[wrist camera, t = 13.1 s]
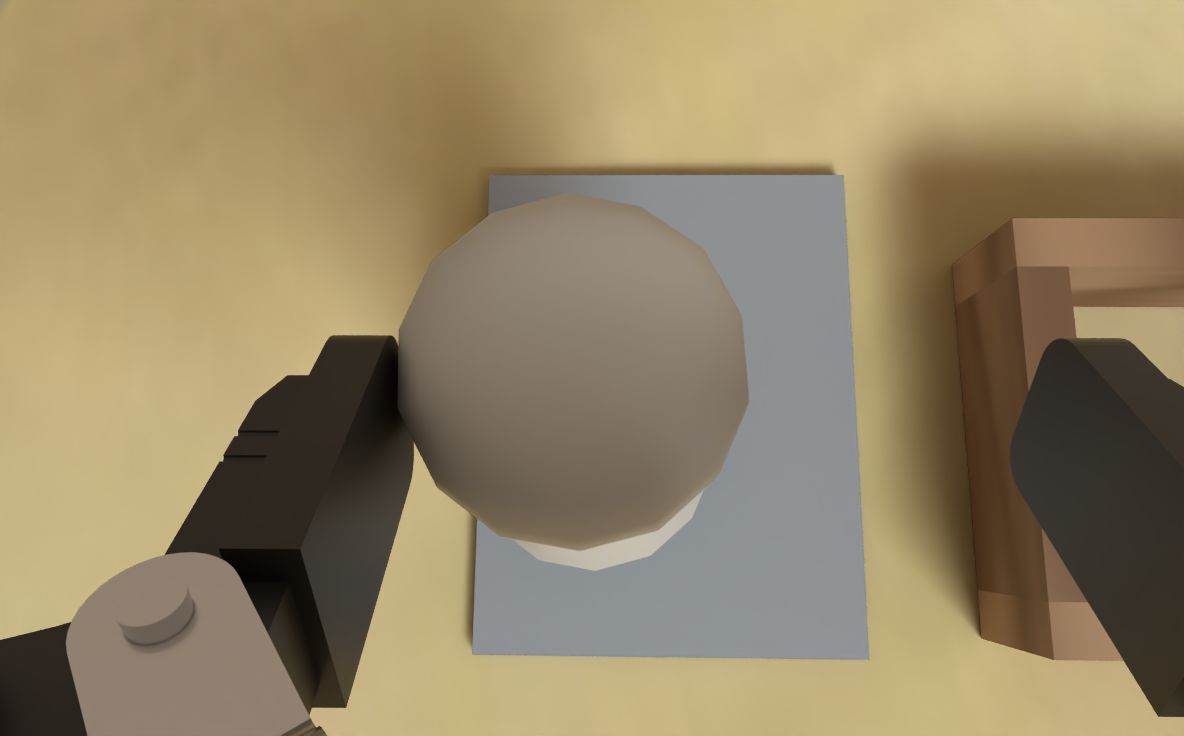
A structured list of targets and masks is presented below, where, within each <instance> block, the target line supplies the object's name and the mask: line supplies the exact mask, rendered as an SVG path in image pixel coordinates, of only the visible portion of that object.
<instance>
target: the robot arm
mask: <svg viewBox="0 0 1184 736" xmlns="http://www.w3.org/2000/svg"><path fill="white" fill-rule="evenodd" d="M398 350H399V348H398V344H397V342H396V339H395V338H394V337H393V336H370V335H333V336H331V337H330V338H328V340H327V342H326V343H325V345H324V347H323V349H322V351H321V353H320V355H319V357H318V359H317V361H316V363H315V364H314V366H313V368H312V370H311V372H310V374H309V375H287V376H286V377H285V378H284V379H282V380H281V381H280V382H279V383H277V384H276V385H275V386H274V387H272V388H271V389H270V390H269V391H267V392H266V393H265V394H263V395H262V396H261V397H260V398H258V399H257V400H256V401H255V403H254V404H253V406H252V408H251V409H250V411H249V413H248V414H247V416H246V418H245V419H244V421H243V423H242V425H241V426H240V428H239V430H238V436H234V438H233V440H232V441H231V443H230V445H229V447H228V448H227V450H226V452H225V453H224V455H223V456H224V460H223V462H219V464H218V465H217V467H216V469H215V470H214V472H213V474H212V475H211V477H210V479H209V480H208V482H207V484H206V486H205V487H204V489H203V491H202V492H201V494H200V496H199V497H198V499H197V501H196V502H195V504H194V506H193V508H192V509H191V511H190V513H189V514H188V516H187V518H186V519H185V521H184V523H183V524H182V526H181V528H180V530H179V531H178V533H177V535H176V536H175V538H174V540H173V541H172V543H171V545H170V546H169V548H168V550H167V552H166V553H165V555H164V556H160V557H156V558H152V559H149V560H147V561H144V562H141V563H139V564H136V565H134V566H132V567H130V568H128V569H126V570H124V571H122V572H121V573H119V574H117V575H116V576H114V577H113V578H111V579H110V580H108V581H107V582H106V583H104V584H103V585H102V586H100V587H99V588H98V589H97V590H96V591H95V592H94V593H93V594H92V595H91V596H90V597H88V599H87V600H86V601H85V602H84V603H83V605H82V606H81V607H80V608H79V610H78V611H77V613H76V615H75V616H74V618H73V620H72V622H70V623H66V624H63V625H59V626H56V627H52V628H48V629H44V630H39V631H35V632H31V633H27V634H23V635H19V636H15V637H11V638H7V639H3V640H0V736H327V735H326V733H325V732H324V730H323V729H322V728H321V727H320V726H319V727H317V728H316V727H315V725H314V724H313V722H312V720H311V718H310V716H309V715H310V712H311V709H312V708H346V707H347V703H348V700H349V696H350V693H351V689H352V686H353V682H354V679H355V675H356V672H357V668H358V665H359V661H360V658H361V654H362V651H363V647H364V644H365V640H366V637H367V633H368V630H369V626H370V623H371V619H372V616H373V612H374V609H375V605H376V602H377V598H378V595H379V591H380V588H381V584H382V581H383V577H384V574H385V570H386V567H387V563H388V560H389V556H390V553H391V549H392V546H393V542H394V539H395V535H396V532H397V528H398V525H399V521H400V518H401V514H402V511H403V508H404V504H405V501H406V497H407V494H408V490H409V487H410V483H411V478H412V472H413V461H414V442H413V439H412V437H411V435H410V433H409V431H408V429H407V427H406V425H405V423H404V421H403V419H402V417H401V414H400V412H399V410H398V408H397V406H398ZM1010 465H1011V471H1012V475H1013V479H1014V481H1015V484H1016V486H1017V488H1018V490H1019V491H1020V493H1021V495H1022V496H1023V498H1024V499H1025V501H1026V503H1027V504H1028V506H1029V508H1030V509H1031V511H1032V512H1033V514H1034V516H1035V517H1036V519H1037V521H1038V522H1039V524H1040V525H1041V527H1042V529H1043V530H1044V532H1045V534H1046V535H1047V537H1048V538H1049V540H1050V542H1051V543H1052V545H1053V547H1054V548H1055V550H1056V551H1057V553H1058V555H1059V556H1060V558H1061V559H1062V561H1063V563H1064V564H1065V566H1066V568H1067V569H1068V571H1069V572H1070V574H1071V576H1072V577H1073V579H1074V581H1075V582H1076V584H1077V585H1078V587H1079V589H1080V590H1081V592H1082V594H1083V595H1084V597H1085V598H1086V600H1087V602H1088V603H1089V605H1090V607H1091V608H1092V610H1093V611H1094V613H1095V615H1096V616H1097V618H1098V620H1099V621H1100V623H1101V624H1102V626H1103V628H1104V629H1105V631H1106V633H1107V634H1108V636H1109V637H1110V639H1111V641H1112V642H1113V644H1114V646H1115V647H1116V649H1117V650H1118V652H1119V654H1120V655H1121V657H1122V659H1123V660H1124V662H1125V663H1126V665H1127V667H1128V668H1129V670H1130V672H1131V673H1132V675H1133V676H1134V678H1135V680H1136V681H1137V683H1138V685H1139V686H1140V688H1141V689H1142V691H1143V693H1144V694H1145V696H1146V698H1147V699H1148V701H1149V702H1150V704H1151V706H1152V707H1153V709H1154V711H1155V712H1156V714H1157V715H1158V717H1184V387H1182V386H1181V385H1179V384H1177V383H1176V382H1174V381H1172V380H1171V379H1168V378H1167V377H1166V376H1165V375H1164V374H1163V373H1162V372H1161V371H1160V370H1159V369H1158V368H1157V367H1156V366H1155V365H1154V364H1153V363H1152V362H1151V361H1150V360H1149V359H1148V358H1147V357H1146V356H1145V355H1144V354H1143V353H1142V352H1141V351H1140V350H1139V349H1138V348H1137V347H1136V346H1135V345H1134V344H1132V343H1131V342H1130V341H1128V340H1126V339H1121V338H1060V339H1056V340H1054V341H1052V342H1051V343H1050V344H1049V345H1048V346H1047V347H1046V349H1045V350H1044V352H1043V354H1042V357H1041V359H1040V362H1039V365H1038V368H1037V370H1036V373H1035V376H1034V379H1033V381H1032V384H1031V387H1030V390H1029V393H1028V395H1027V398H1026V401H1025V404H1024V406H1023V409H1022V412H1021V415H1020V417H1019V420H1018V423H1017V426H1016V428H1015V431H1014V434H1013V437H1012V441H1011V446H1010Z"/></svg>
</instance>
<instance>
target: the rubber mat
mask: <svg viewBox="0 0 1184 736" xmlns="http://www.w3.org/2000/svg"><path fill="white" fill-rule="evenodd" d="M563 193H569V194H574V195H580V196H585V197H591V198H596V199H602V200H607V201H613V202H618V203H624V204H630V205H635V206H640V207H642V208H643V209H645V210H646V211H648V212H649V213H651V214H652V215H654V216H655V217H657V218H658V219H660V220H662V221H663V222H665V223H666V224H668V225H669V226H671V227H672V228H674V229H675V230H677V231H678V232H680V233H681V234H683V235H684V236H686V237H687V238H689V239H690V240H692V241H693V242H695V243H696V244H698V245H699V246H701V247H702V248H704V250H705V251H706V253H707V255H708V257H709V259H710V260H711V262H712V264H713V266H714V267H715V269H716V271H717V273H718V274H719V276H720V278H721V280H722V281H723V283H724V285H725V287H726V288H727V290H728V292H729V294H730V295H731V297H732V299H733V301H734V302H735V304H736V306H737V308H738V309H739V311H740V313H741V315H742V322H743V334H744V345H745V356H746V367H747V379H748V390H749V404H748V406H747V409H746V411H745V414H744V416H743V418H742V421H741V423H740V426H739V428H738V430H737V433H736V435H735V438H734V440H733V442H732V445H731V447H730V450H729V452H728V454H727V457H726V459H725V462H724V464H723V466H722V469H721V471H720V474H719V476H718V477H717V478H716V479H715V480H714V481H712V482H711V483H710V484H709V485H708V486H707V487H706V488H705V489H704V491H703V493H702V496H701V498H700V500H699V503H698V505H697V507H696V510H695V512H694V515H693V517H692V519H690V520H689V521H688V522H687V523H686V524H685V525H684V526H683V527H682V528H681V529H679V530H678V531H677V532H676V533H675V534H674V535H673V536H672V537H671V538H670V539H668V540H667V541H666V542H665V543H664V544H663V545H662V546H661V547H660V548H659V549H657V550H656V551H655V552H654V553H653V554H652V555H651V556H648V557H645V558H641V559H637V560H634V561H630V562H626V563H622V564H619V565H615V566H611V567H608V568H604V569H600V570H597V571H593V570H588V569H582V568H577V567H572V566H567V565H561V564H556V563H551V562H546V561H540V560H538V559H537V558H536V557H534V556H533V555H532V554H530V553H529V552H528V551H527V550H525V549H524V548H523V547H521V546H520V545H519V544H517V543H516V542H515V541H513V540H512V539H510V538H504V537H500V536H498V535H497V534H496V533H495V532H493V531H492V530H491V529H490V528H488V527H487V526H486V525H484V524H483V523H482V522H481V521H479V520H478V519H477V535H476V564H475V592H474V620H473V648H472V655H531V656H608V657H685V658H762V659H839V660H869V644H868V625H867V606H866V587H865V569H864V550H863V531H862V512H861V493H860V475H859V456H858V437H857V418H856V399H855V381H854V362H853V343H852V324H851V306H850V287H849V268H848V249H847V230H846V212H845V193H844V175H489V197H488V216H489V215H490V214H491V213H494V212H497V211H501V210H505V209H508V208H512V207H516V206H519V205H523V204H527V203H530V202H534V201H538V200H541V199H545V198H549V197H552V196H556V195H560V194H563Z"/></svg>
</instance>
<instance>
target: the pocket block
mask: <svg viewBox="0 0 1184 736" xmlns="http://www.w3.org/2000/svg"><path fill="white" fill-rule="evenodd" d="M952 270H953V282H954V295H955V308H956V321H957V333H958V346H959V359H960V371H961V384H962V397H963V410H964V422H965V435H966V448H967V460H968V473H969V486H970V499H971V511H972V524H973V537H974V549H975V562H976V575H977V588H978V600H979V613H980V626H981V638H982V639H985V640H988V641H992V642H995V643H999V644H1002V645H1005V646H1009V647H1012V648H1015V649H1019V650H1022V651H1026V652H1029V653H1032V654H1036V655H1039V656H1043V657H1046V658H1049V659H1053V660H1098V661H1124V660H1123V659H1122V657H1121V655H1120V654H1119V652H1118V650H1117V649H1116V647H1115V646H1114V644H1113V642H1112V641H1111V639H1110V637H1109V636H1108V634H1107V633H1106V631H1105V629H1104V628H1103V626H1102V624H1101V623H1100V621H1099V620H1098V618H1097V616H1096V615H1095V613H1094V611H1093V610H1092V608H1091V607H1090V605H1089V603H1088V602H1087V600H1086V598H1085V597H1084V595H1083V594H1082V592H1081V590H1080V589H1079V587H1078V585H1077V584H1076V582H1075V581H1074V579H1073V577H1072V576H1071V574H1070V572H1069V571H1068V569H1067V568H1066V566H1065V564H1064V563H1063V561H1062V559H1061V558H1060V556H1059V555H1058V553H1057V551H1056V550H1055V548H1054V547H1053V545H1052V543H1051V542H1050V540H1049V538H1048V537H1047V535H1046V534H1045V532H1044V530H1043V529H1042V527H1041V525H1040V524H1039V522H1038V521H1037V519H1036V517H1035V516H1034V514H1033V512H1032V511H1031V509H1030V508H1029V506H1028V504H1027V503H1026V501H1025V499H1024V498H1023V496H1022V495H1021V493H1020V491H1019V490H1018V488H1017V486H1016V484H1015V481H1014V479H1013V475H1012V471H1011V465H1010V446H1011V441H1012V437H1013V434H1014V431H1015V428H1016V426H1017V423H1018V420H1019V417H1020V415H1021V412H1022V409H1023V406H1024V404H1025V401H1026V398H1027V395H1028V393H1029V390H1030V387H1031V384H1032V381H1033V379H1034V376H1035V373H1036V370H1037V368H1038V365H1039V362H1040V359H1041V357H1042V354H1043V352H1044V350H1045V349H1046V347H1047V346H1048V345H1049V344H1050V343H1051V342H1052V341H1054V340H1056V339H1060V338H1076V330H1075V320H1074V311H1073V306H1080V307H1184V218H1012V219H1010V220H1009V221H1008V222H1007V223H1005V224H1004V225H1003V226H1001V227H1000V228H999V229H998V230H996V231H995V232H994V233H992V234H991V235H990V236H988V237H987V238H986V239H985V240H983V241H982V242H981V243H979V244H978V245H977V246H976V247H974V248H973V249H972V250H970V251H969V252H968V253H966V254H965V255H964V256H963V257H961V258H960V259H959V260H957V261H956V262H955V263H954V264H952Z"/></svg>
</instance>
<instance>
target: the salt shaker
mask: <svg viewBox="0 0 1184 736" xmlns="http://www.w3.org/2000/svg"><path fill="white" fill-rule="evenodd" d="M748 404H749V390H748V379H747V367H746V356H745V345H744V334H743V322H742V315H741V313H740V311H739V309H738V308H737V306H736V304H735V302H734V301H733V299H732V297H731V295H730V294H729V292H728V290H727V288H726V287H725V285H724V283H723V281H722V280H721V278H720V276H719V274H718V273H717V271H716V269H715V267H714V266H713V264H712V262H711V260H710V259H709V257H708V255H707V253H706V251H705V250H704V248H702V247H701V246H699V245H698V244H696V243H695V242H693V241H692V240H690V239H689V238H687V237H686V236H684V235H683V234H681V233H680V232H678V231H677V230H675V229H674V228H672V227H671V226H669V225H668V224H666V223H665V222H663V221H662V220H660V219H658V218H657V217H655V216H654V215H652V214H651V213H649V212H648V211H646V210H645V209H643V208H642V207H640V206H635V205H630V204H624V203H618V202H613V201H607V200H602V199H596V198H591V197H585V196H580V195H574V194H569V193H563V194H560V195H556V196H552V197H549V198H545V199H541V200H538V201H534V202H530V203H527V204H523V205H519V206H516V207H512V208H508V209H505V210H501V211H497V212H494V213H491V214H490V215H489V216H487V217H486V218H485V219H484V220H482V221H481V222H480V223H479V224H477V225H476V226H475V227H473V228H472V229H471V230H470V231H468V232H467V233H466V234H465V235H463V236H462V237H461V238H460V239H458V240H457V241H456V242H455V243H453V244H452V245H451V246H449V247H448V248H447V249H446V250H444V251H443V252H442V253H441V254H439V255H438V256H437V257H436V258H434V259H433V260H432V261H431V263H430V265H429V267H428V270H427V272H426V274H425V276H424V278H423V280H422V282H421V284H420V286H419V288H418V291H417V293H416V295H415V297H414V299H413V301H412V303H411V305H410V307H409V310H408V312H407V314H406V316H405V318H404V320H403V322H402V324H401V326H400V328H399V350H398V406H397V408H398V410H399V412H400V414H401V417H402V419H403V421H404V423H405V425H406V427H407V429H408V431H409V433H410V435H411V437H412V439H413V441H414V443H415V445H416V447H417V449H418V451H419V453H420V455H421V456H422V458H423V460H424V462H425V464H426V466H427V468H428V470H429V472H430V474H431V476H432V478H433V480H434V482H435V484H436V486H437V488H438V489H440V490H441V491H442V492H444V493H445V494H446V495H447V496H449V497H450V498H451V499H453V500H454V501H455V502H456V503H458V504H459V505H460V506H461V507H463V508H464V509H465V510H467V511H468V512H469V513H470V514H472V515H473V516H474V517H475V518H477V519H478V520H479V521H481V522H482V523H483V524H484V525H486V526H487V527H488V528H490V529H491V530H492V531H493V532H495V533H496V534H497V535H498V536H500V537H504V538H510V539H512V540H513V541H515V542H516V543H517V544H519V545H520V546H521V547H523V548H524V549H525V550H527V551H528V552H529V553H530V554H532V555H533V556H534V557H536V558H537V559H538V560H540V561H546V562H551V563H556V564H561V565H567V566H572V567H577V568H582V569H588V570H593V571H597V570H600V569H604V568H608V567H611V566H615V565H619V564H622V563H626V562H630V561H634V560H637V559H641V558H645V557H648V556H651V555H652V554H653V553H654V552H655V551H656V550H657V549H659V548H660V547H661V546H662V545H663V544H664V543H665V542H666V541H667V540H668V539H670V538H671V537H672V536H673V535H674V534H675V533H676V532H677V531H678V530H679V529H681V528H682V527H683V526H684V525H685V524H686V523H687V522H688V521H689V520H690V519H692V517H693V515H694V512H695V510H696V507H697V505H698V503H699V500H700V498H701V496H702V493H703V491H704V489H705V488H706V487H707V486H708V485H709V484H710V483H711V482H712V481H714V480H715V479H716V478H717V477H718V476H719V474H720V471H721V469H722V466H723V464H724V462H725V459H726V457H727V454H728V452H729V450H730V447H731V445H732V442H733V440H734V438H735V435H736V433H737V430H738V428H739V426H740V423H741V421H742V418H743V416H744V414H745V411H746V409H747V406H748Z"/></svg>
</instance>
